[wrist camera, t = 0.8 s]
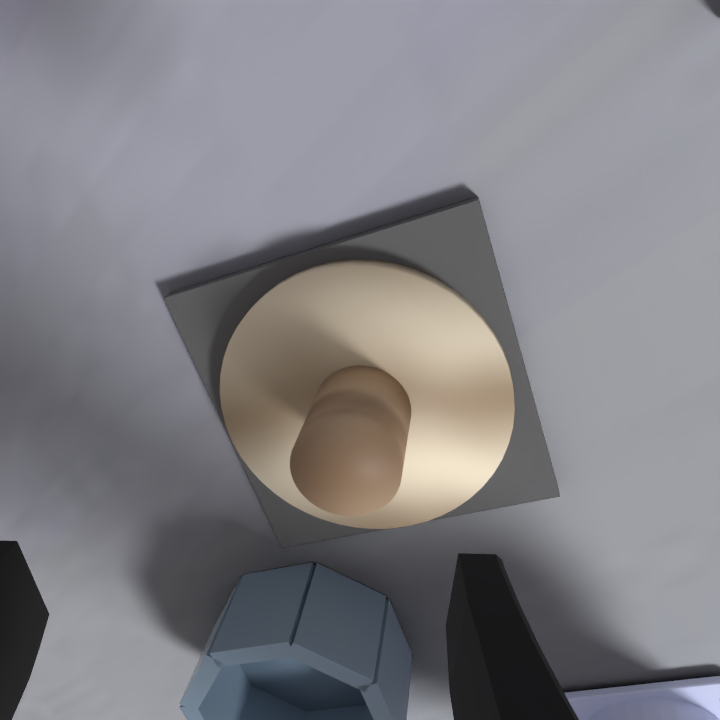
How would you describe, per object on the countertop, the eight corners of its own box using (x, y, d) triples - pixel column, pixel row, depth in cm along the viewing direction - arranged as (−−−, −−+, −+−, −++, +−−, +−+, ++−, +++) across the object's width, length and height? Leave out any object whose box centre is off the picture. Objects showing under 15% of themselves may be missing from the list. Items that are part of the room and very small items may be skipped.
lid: (544, 488, 26) (559, 574, 22) (288, 537, 29) (256, 622, 24) (467, 218, 22) (467, 259, 18) (180, 307, 25) (120, 360, 21)
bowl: (429, 695, 32) (423, 787, 28) (263, 714, 35) (236, 801, 31) (369, 552, 29) (353, 632, 25) (192, 583, 32) (151, 661, 28)
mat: (558, 487, 26) (559, 496, 26) (285, 539, 30) (281, 548, 29) (478, 196, 22) (478, 200, 22) (169, 293, 25) (163, 298, 25)
